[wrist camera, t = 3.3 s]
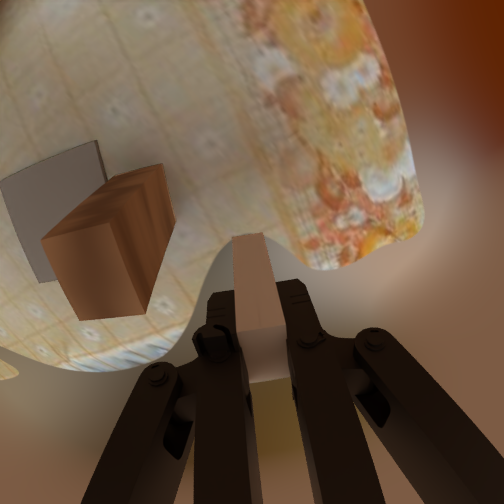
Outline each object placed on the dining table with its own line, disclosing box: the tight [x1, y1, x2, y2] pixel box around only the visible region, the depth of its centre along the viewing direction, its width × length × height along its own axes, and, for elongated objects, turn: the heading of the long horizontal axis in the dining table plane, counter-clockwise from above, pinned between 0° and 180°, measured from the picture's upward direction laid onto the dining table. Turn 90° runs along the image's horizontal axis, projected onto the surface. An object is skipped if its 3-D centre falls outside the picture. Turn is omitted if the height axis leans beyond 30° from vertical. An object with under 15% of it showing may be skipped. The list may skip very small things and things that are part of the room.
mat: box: [0, 140, 107, 283], centre depth 27 cm, size 14×14×1 cm
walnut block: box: [40, 164, 176, 321], centre depth 21 cm, size 5×6×14 cm
